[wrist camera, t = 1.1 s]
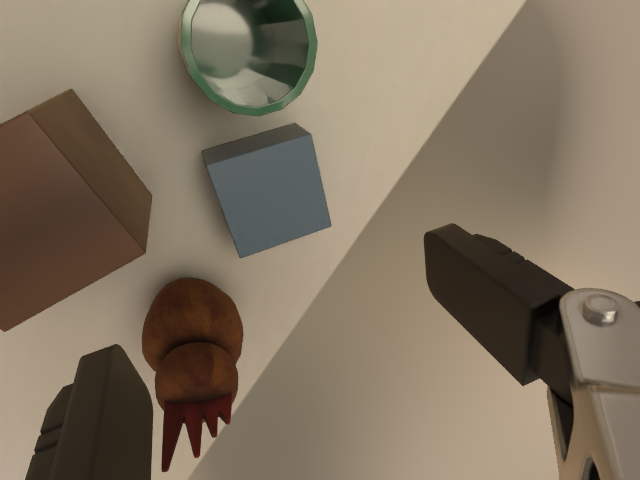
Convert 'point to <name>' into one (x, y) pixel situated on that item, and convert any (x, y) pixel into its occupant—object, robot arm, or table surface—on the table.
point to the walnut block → (63, 207)
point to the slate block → (268, 188)
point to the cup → (248, 51)
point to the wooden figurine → (192, 359)
